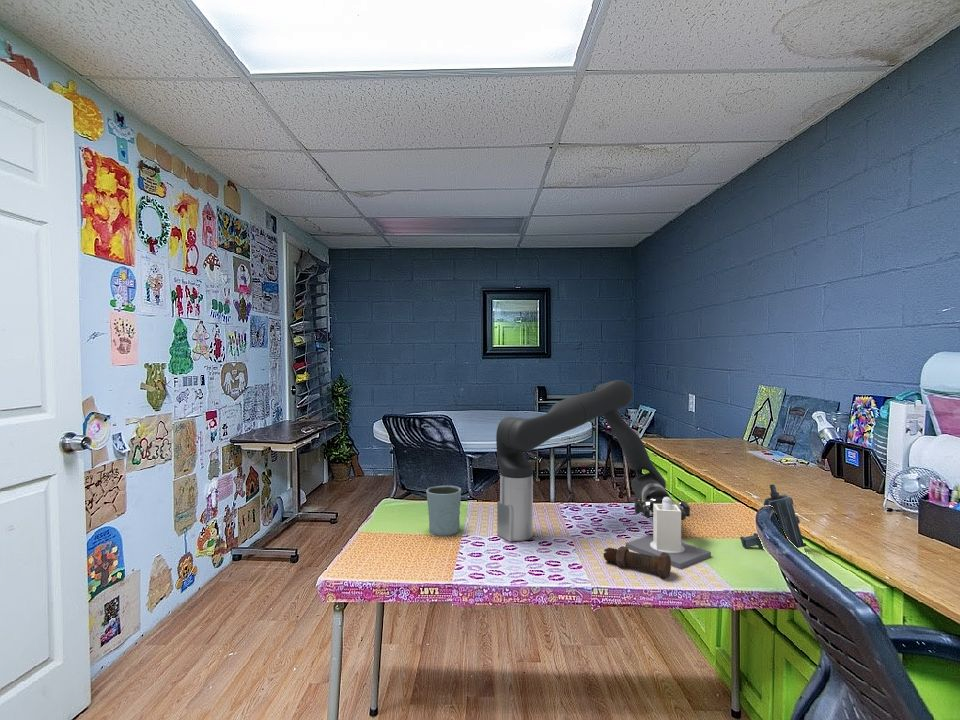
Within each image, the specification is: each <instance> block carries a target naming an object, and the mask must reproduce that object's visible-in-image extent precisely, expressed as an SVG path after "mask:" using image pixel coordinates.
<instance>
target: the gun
mask: <svg viewBox="0 0 960 720" xmlns="http://www.w3.org/2000/svg"><path fill="white" fill-rule="evenodd" d="M769 489H770V493H769V495H770V497H767V498H764V501H763V506H765V505H771V506H773V507H774V509H775V511H776V513H777V516H778V520H779V522H780V524H781V526H782V528H783V530H784V532H785V534H786V536H787V537H788V539H789V540H790V541H791V542H792V543H793V544H794V545H795V546H796V547H797V548H796V549H800V548H806V547H807V546H808V545H807V543H806V542H804V540H803V536H802V533H801V529H800V525H799V524H800V523H801V520H800V518H799V517H798V516H797V515H796V512H795V508H794V501H793V498H792V497H791V496H789V495H787V494H786V493H785V494H780V492H778V491H777V488H776V485H775V484H773V483H772V484H770V485H769ZM757 533H758V532H754V533H753V535H750V536H748V535H747V536H743V535H742V536H740V537H739V538H740V543H741V545H742V547H743V548H744V549H749V548H751V547H756V546H757V547H759V548H760V549H763V548H764V547H763V546H762V544H761V541H760V539H759V537H758V534H757Z"/></svg>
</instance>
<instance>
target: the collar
mask: <svg viewBox="0 0 960 720" xmlns="http://www.w3.org/2000/svg"><path fill="white" fill-rule="evenodd" d="M652 517H653V519H652V520H653V525H652V528H653V529H652V532H653V533H652V535H653V542H654V544H655V546H656V549H657V550H671V551H681V542H682V520H681V510H680V509H679V508H678V506H677V505H672V510H662V504H653V514H652Z"/></svg>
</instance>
